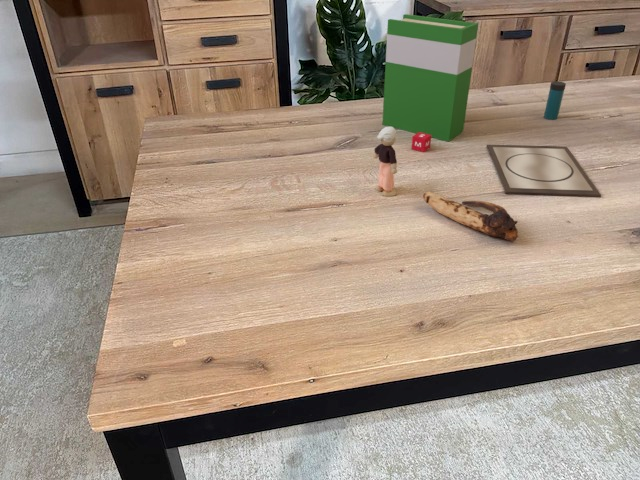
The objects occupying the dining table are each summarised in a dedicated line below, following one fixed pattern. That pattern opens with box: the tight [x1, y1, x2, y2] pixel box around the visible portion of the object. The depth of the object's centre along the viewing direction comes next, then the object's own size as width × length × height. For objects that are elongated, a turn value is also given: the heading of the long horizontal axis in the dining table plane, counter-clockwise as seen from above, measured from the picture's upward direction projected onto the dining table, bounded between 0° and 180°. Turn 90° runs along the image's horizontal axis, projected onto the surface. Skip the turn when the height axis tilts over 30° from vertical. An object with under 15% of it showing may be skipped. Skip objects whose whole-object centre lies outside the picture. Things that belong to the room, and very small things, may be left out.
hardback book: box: [381, 13, 479, 142], centre depth 121 cm, size 18×7×24 cm, turn 52°
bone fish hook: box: [422, 191, 519, 242], centre depth 91 cm, size 9×5×18 cm
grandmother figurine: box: [372, 126, 398, 197], centre depth 98 cm, size 8×4×13 cm, turn 35°
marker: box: [543, 80, 567, 121], centre depth 130 cm, size 3×3×8 cm
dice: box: [411, 132, 432, 153], centre depth 117 cm, size 3×3×3 cm
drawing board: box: [486, 144, 602, 198], centre depth 108 cm, size 17×22×1 cm
